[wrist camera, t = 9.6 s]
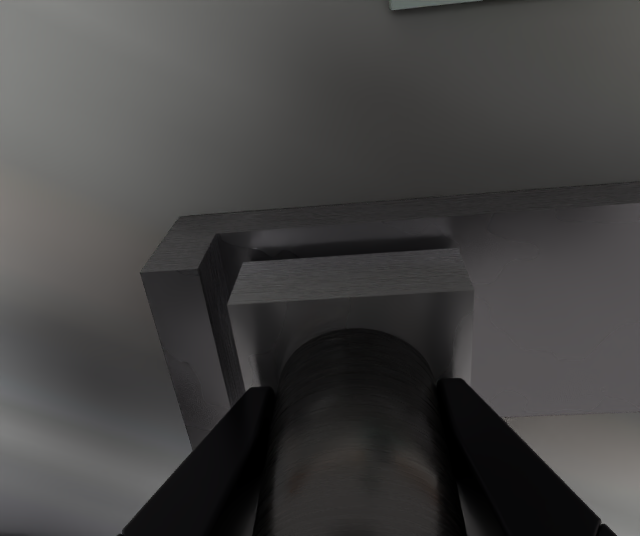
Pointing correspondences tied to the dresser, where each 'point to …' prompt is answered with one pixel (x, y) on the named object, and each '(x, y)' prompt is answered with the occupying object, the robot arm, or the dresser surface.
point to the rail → (484, 272)
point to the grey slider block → (356, 389)
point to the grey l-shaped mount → (421, 3)
